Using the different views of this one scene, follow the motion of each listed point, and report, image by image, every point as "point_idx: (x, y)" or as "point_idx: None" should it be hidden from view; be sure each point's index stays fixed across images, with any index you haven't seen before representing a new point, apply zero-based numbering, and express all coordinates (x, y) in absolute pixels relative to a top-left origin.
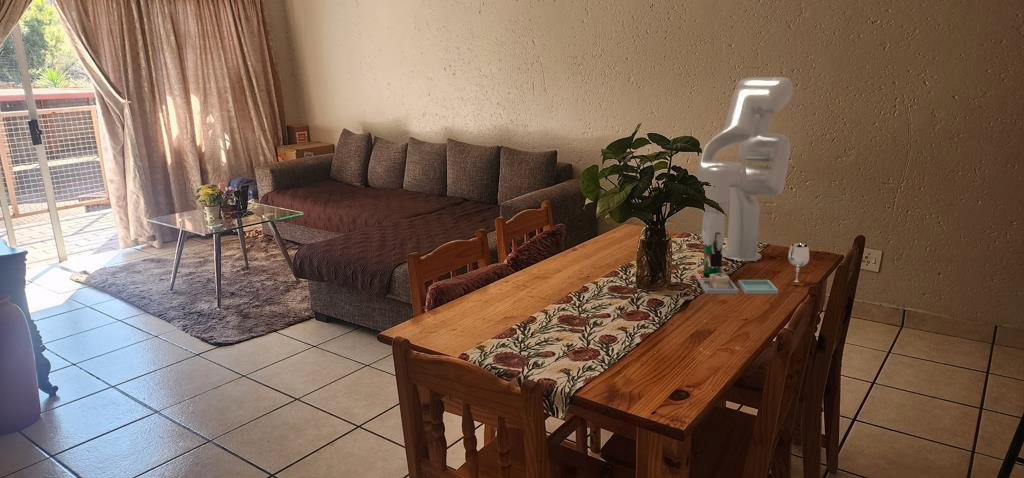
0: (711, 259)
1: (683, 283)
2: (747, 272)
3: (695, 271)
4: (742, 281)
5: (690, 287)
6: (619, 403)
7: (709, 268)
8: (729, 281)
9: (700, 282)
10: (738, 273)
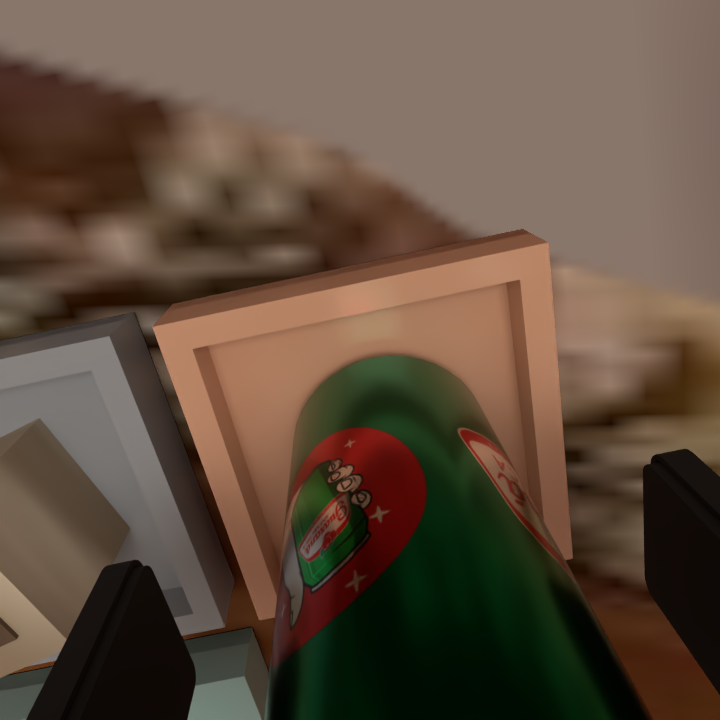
0: (56, 673)
1: (153, 103)
2: (647, 683)
3: (472, 264)
4: (233, 699)
5: (21, 203)
6: None
7: (291, 489)
8: (176, 614)
9: (98, 331)
10: (616, 628)
